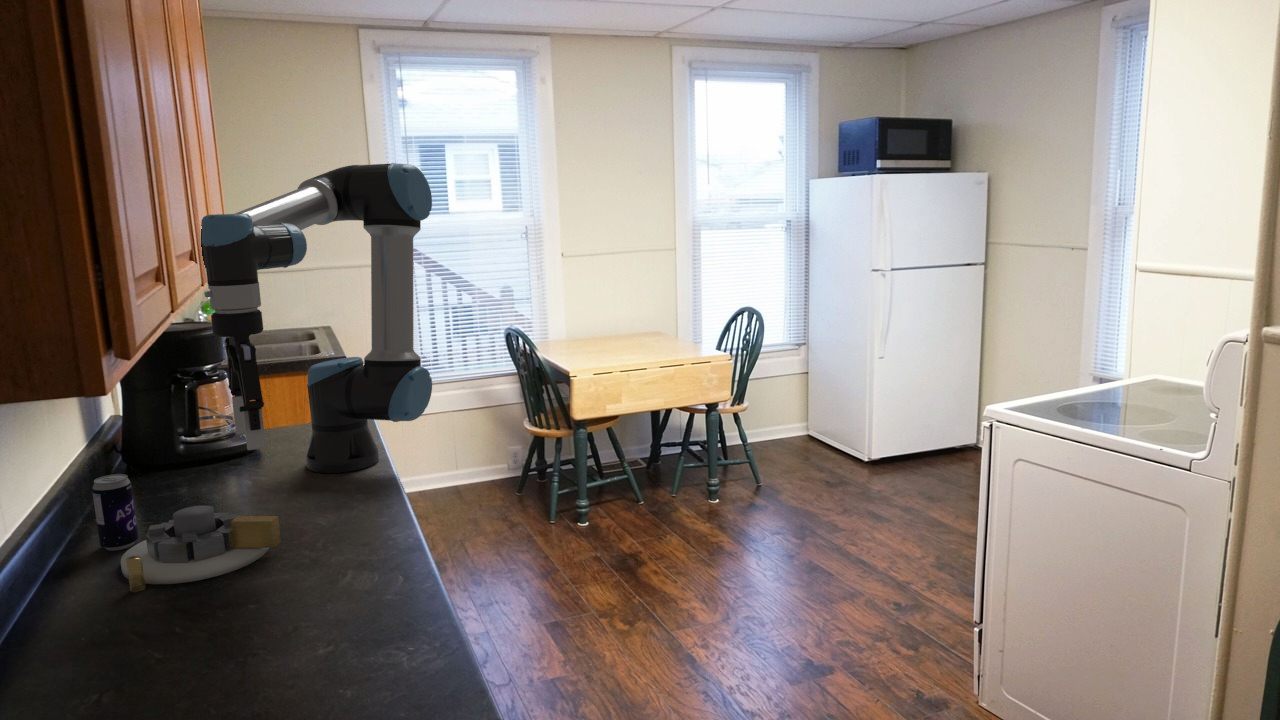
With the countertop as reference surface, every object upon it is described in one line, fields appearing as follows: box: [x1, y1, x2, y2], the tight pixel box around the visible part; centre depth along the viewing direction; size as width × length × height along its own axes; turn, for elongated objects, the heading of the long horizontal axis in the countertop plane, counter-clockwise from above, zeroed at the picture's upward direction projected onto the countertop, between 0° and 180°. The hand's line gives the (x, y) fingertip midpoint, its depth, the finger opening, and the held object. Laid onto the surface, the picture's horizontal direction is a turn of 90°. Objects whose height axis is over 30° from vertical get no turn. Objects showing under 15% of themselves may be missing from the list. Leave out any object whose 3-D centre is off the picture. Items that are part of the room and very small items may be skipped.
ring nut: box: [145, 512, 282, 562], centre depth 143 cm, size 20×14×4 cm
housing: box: [120, 505, 270, 585], centre depth 143 cm, size 22×22×8 cm
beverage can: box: [91, 473, 139, 552], centre depth 148 cm, size 6×6×12 cm
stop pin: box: [126, 556, 146, 593], centre depth 131 cm, size 2×2×5 cm
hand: (250, 440), depth 146 cm, fingers open, 11 cm apart
